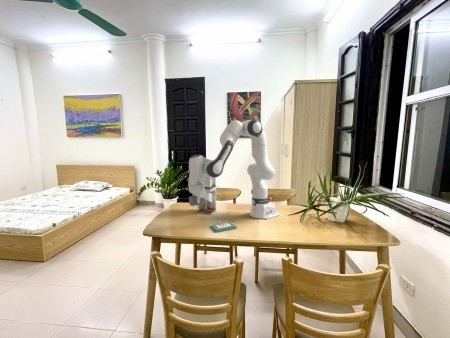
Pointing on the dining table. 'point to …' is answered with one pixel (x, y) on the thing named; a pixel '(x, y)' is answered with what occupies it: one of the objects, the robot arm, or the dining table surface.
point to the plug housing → (193, 201)
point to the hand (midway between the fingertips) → (196, 201)
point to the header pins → (223, 223)
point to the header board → (223, 227)
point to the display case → (208, 195)
